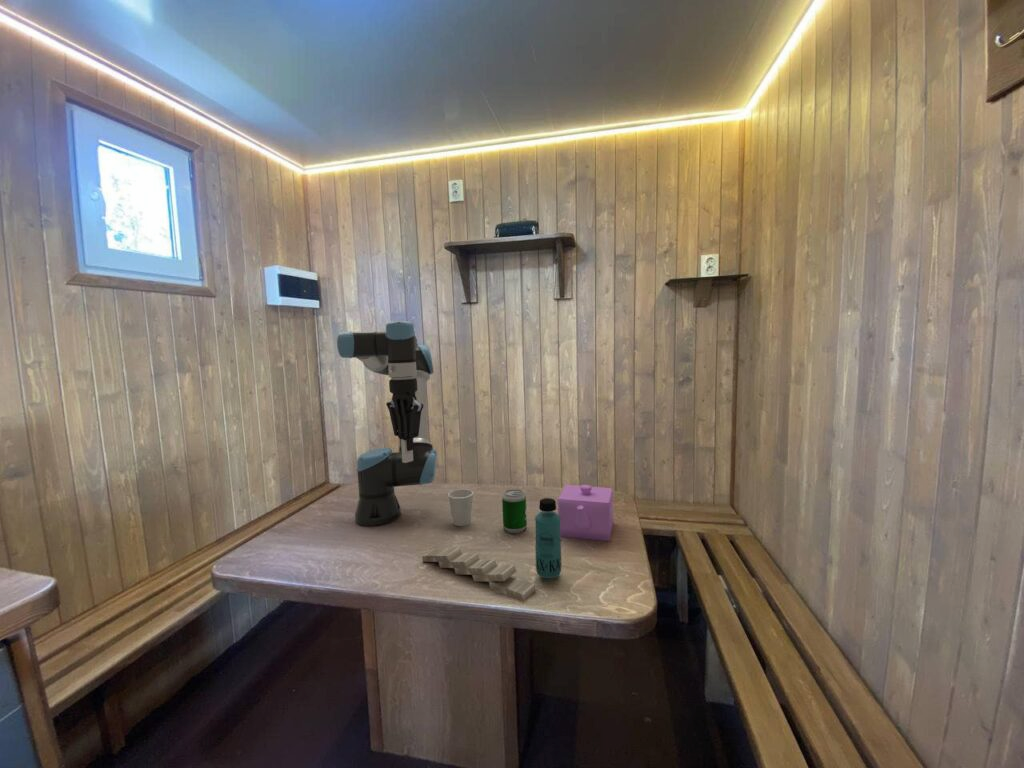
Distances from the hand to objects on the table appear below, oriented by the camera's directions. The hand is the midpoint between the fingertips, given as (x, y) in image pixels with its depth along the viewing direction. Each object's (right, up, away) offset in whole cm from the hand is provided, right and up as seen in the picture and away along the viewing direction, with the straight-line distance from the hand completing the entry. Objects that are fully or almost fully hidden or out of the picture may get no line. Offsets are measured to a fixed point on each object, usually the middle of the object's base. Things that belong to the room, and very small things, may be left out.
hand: (407, 461), depth 119 cm
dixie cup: (+13, -24, +21) cm, 35 cm away
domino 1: (+6, -26, -1) cm, 27 cm away
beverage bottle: (+39, -27, -13) cm, 49 cm away
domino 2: (+12, -26, -5) cm, 29 cm away
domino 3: (+16, -26, -8) cm, 32 cm away
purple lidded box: (+52, -24, +12) cm, 59 cm away
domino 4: (+21, -26, -12) cm, 36 cm away
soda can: (+30, -24, +15) cm, 42 cm away
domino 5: (+25, -26, -15) cm, 39 cm away
